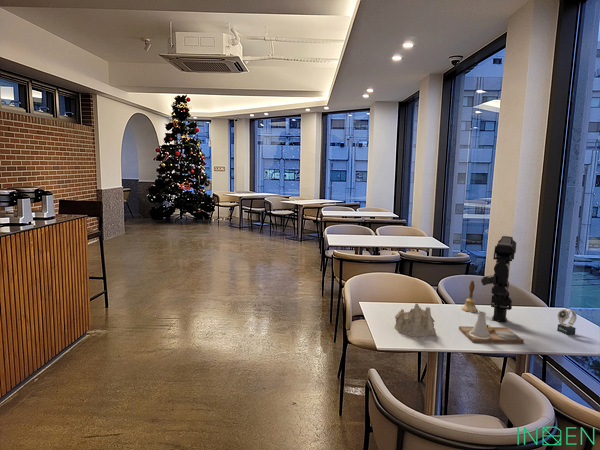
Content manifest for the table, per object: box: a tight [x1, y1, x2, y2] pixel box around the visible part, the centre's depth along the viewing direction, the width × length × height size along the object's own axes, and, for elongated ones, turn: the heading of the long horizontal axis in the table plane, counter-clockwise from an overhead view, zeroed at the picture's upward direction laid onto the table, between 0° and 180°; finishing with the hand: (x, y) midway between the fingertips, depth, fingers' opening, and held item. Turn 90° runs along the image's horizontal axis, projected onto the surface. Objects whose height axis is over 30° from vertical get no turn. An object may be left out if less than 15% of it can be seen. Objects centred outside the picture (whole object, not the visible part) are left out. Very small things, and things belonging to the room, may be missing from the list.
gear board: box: [458, 324, 525, 345], centre depth 186 cm, size 15×22×4 cm
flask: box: [471, 310, 490, 337], centre depth 183 cm, size 7×7×10 cm
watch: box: [556, 308, 578, 336], centre depth 193 cm, size 6×8×11 cm
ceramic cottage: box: [394, 302, 437, 339], centre depth 190 cm, size 16×16×15 cm
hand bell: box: [461, 280, 479, 313], centre depth 222 cm, size 8×8×16 cm
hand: (499, 304), depth 194 cm, fingers open, 9 cm apart
